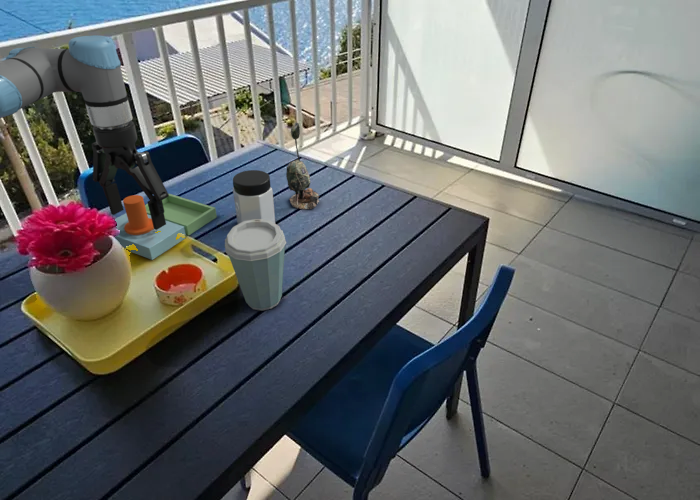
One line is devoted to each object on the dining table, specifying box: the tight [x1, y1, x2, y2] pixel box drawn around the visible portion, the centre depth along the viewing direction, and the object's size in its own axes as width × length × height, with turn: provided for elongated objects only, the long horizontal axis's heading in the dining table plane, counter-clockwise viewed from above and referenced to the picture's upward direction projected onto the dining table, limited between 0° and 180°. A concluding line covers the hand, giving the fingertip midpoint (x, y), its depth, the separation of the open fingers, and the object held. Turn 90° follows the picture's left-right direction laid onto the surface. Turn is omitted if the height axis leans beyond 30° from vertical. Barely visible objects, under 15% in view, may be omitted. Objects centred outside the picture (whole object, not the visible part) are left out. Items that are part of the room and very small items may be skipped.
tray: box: [145, 192, 218, 236], centre depth 118 cm, size 16×10×3 cm, turn 62°
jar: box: [232, 169, 276, 225], centre depth 114 cm, size 9×8×12 cm
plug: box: [122, 194, 154, 235], centre depth 108 cm, size 6×6×10 cm
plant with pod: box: [284, 121, 320, 210], centre depth 120 cm, size 8×11×20 cm
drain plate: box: [114, 212, 187, 261], centre depth 110 cm, size 16×10×3 cm, turn 62°
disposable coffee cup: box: [224, 219, 287, 312], centre depth 90 cm, size 11×11×15 cm
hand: (138, 219), depth 108 cm, fingers open, 12 cm apart
